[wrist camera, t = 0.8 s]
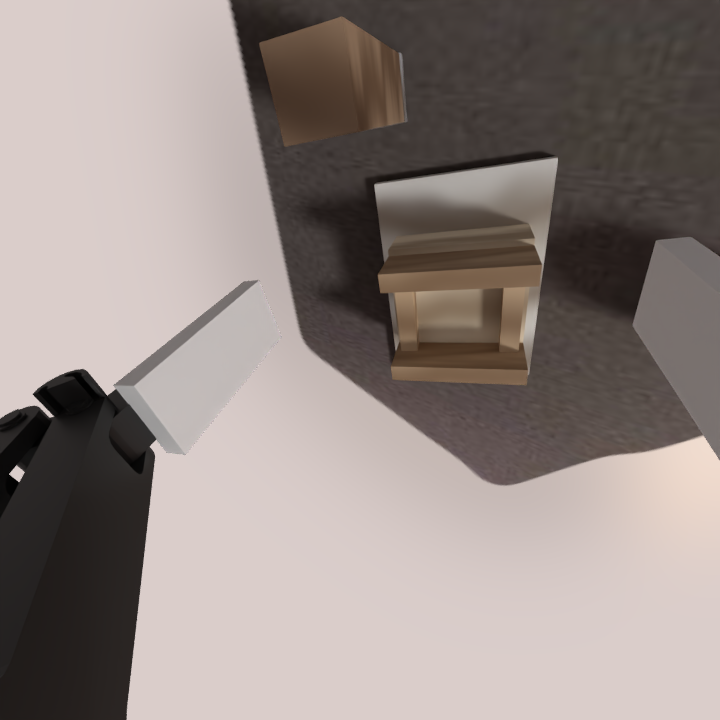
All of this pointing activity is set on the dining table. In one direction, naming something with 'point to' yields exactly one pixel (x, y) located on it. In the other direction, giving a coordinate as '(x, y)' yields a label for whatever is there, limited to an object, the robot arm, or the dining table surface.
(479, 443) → the dining table surface
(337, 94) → the tall wooden block
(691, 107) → the dining table surface
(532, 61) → the dining table surface
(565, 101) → the dining table surface
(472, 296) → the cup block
